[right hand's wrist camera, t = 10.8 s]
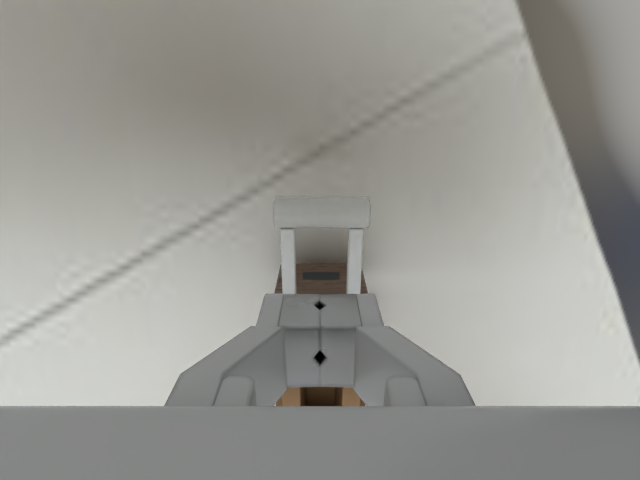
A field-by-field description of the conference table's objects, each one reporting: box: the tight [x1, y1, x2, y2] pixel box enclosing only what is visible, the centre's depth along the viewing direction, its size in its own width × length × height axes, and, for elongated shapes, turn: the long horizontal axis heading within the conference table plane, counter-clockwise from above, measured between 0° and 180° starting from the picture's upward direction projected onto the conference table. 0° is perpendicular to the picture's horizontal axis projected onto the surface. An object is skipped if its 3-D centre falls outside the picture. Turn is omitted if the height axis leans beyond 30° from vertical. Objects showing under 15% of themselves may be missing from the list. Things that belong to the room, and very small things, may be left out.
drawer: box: [273, 197, 370, 406], centre depth 20 cm, size 22×5×7 cm, turn 0°
